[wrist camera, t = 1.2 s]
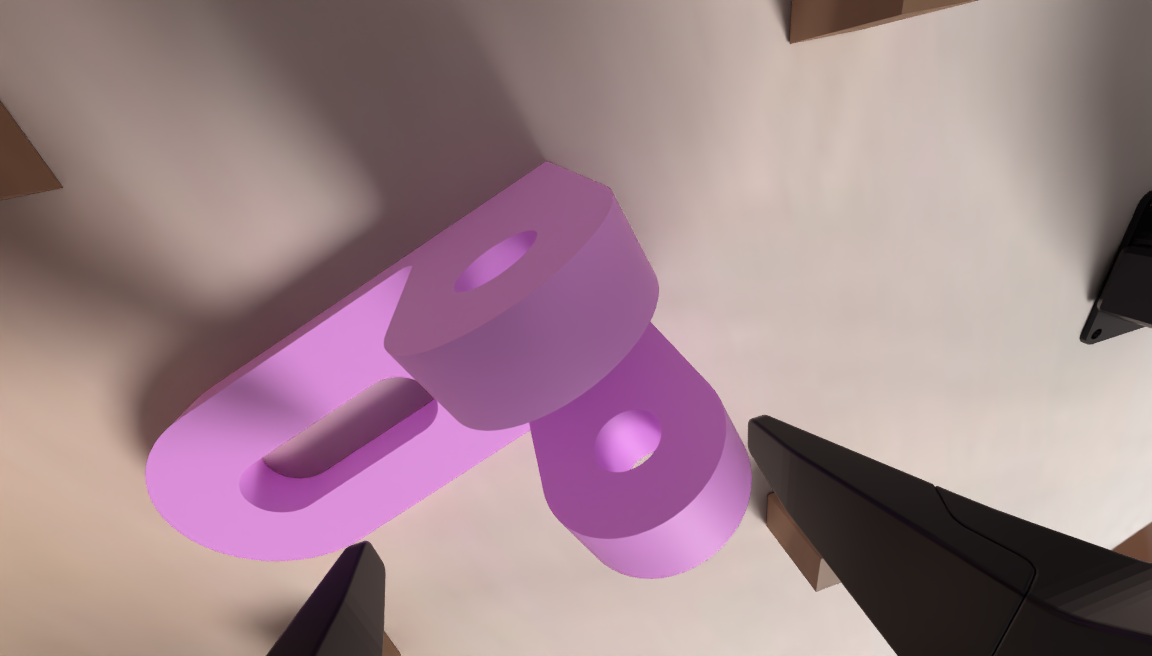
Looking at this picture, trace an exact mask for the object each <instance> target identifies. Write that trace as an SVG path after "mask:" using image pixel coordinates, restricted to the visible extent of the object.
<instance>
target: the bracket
mask: <svg viewBox="0 0 1152 656" xmlns="http://www.w3.org/2000/svg"><path fill="white" fill-rule="evenodd" d="M658 295H659V286H658V280H657V277H656V275H655V273H654V271H653V269H652V267H651V265H650V263H649V261H648V260H647V258H646V256H645V254H644V252H643V250H642V248H641V246H640V244H639V242H638V240H637V238H636V236H635V235H634V233H633V231H632V229H631V227H630V225H629V223H628V221H627V219H626V217H625V215H624V213H623V211H622V209H621V208H620V206H619V204H618V202H617V200H616V198H615V196H614V194H613V192H612V191H611V189H610V188H609V187H607V186H605V185H603V184H601V183H598V182H596V181H593V180H591V179H589V178H586V177H584V176H581V175H579V174H577V173H574V172H572V171H569V170H567V169H565V168H562V167H560V166H557V165H555V164H553V163H550V162H548V161H546V162H544V163H543V164H541V165H540V166H538V167H537V168H535V169H534V170H532V171H531V172H529V173H528V174H526V175H525V176H523V177H522V178H520V179H519V180H517V181H516V182H515V183H513V184H512V185H510V186H509V187H507V188H506V189H504V190H503V191H501V192H500V193H498V194H497V195H495V196H494V197H492V198H491V199H489V200H488V201H486V202H485V203H483V204H482V205H480V206H479V207H478V208H476V209H475V210H473V211H472V212H470V213H469V214H467V215H466V216H464V217H463V218H461V219H460V220H458V221H457V222H455V223H454V224H452V225H451V226H449V227H448V228H446V229H445V230H443V231H442V232H441V233H439V234H438V235H436V236H435V237H433V238H432V239H430V240H429V241H427V242H426V243H424V244H423V245H421V246H420V247H418V248H417V249H415V250H414V251H412V252H411V253H409V254H408V255H406V256H405V257H403V258H402V259H401V260H399V261H398V262H396V263H395V264H393V265H392V266H390V267H389V268H387V269H386V270H384V271H383V272H381V273H380V274H378V275H377V276H375V277H374V278H372V279H371V280H369V281H368V282H366V283H365V284H364V285H362V286H361V287H359V288H358V289H356V290H355V291H353V292H352V293H350V294H349V295H347V296H346V297H344V298H343V299H341V300H340V301H338V302H337V303H335V304H334V305H332V306H331V307H329V308H328V309H327V310H325V311H324V312H322V313H321V314H319V315H318V316H316V317H315V318H313V319H312V320H310V321H309V322H307V323H306V324H304V325H303V326H301V327H300V328H298V329H297V330H295V331H294V332H292V333H291V334H290V335H288V336H287V337H285V338H284V339H282V340H281V341H279V342H278V343H276V344H275V345H273V346H272V347H270V348H269V349H267V350H266V351H264V352H263V353H261V354H260V355H258V356H257V357H255V358H254V359H253V360H251V361H250V362H248V363H247V364H245V365H244V366H242V367H241V368H239V369H238V370H236V371H235V372H233V373H232V374H230V375H229V376H227V377H226V378H224V379H223V380H221V381H220V382H218V383H217V384H216V385H214V386H213V387H211V388H210V389H208V390H207V391H206V392H204V393H203V394H202V395H200V396H199V397H198V398H197V399H196V400H195V401H194V402H193V403H192V404H191V405H190V406H189V407H188V408H187V409H186V410H185V411H184V412H183V413H182V414H181V415H180V416H179V417H178V418H177V419H176V420H175V421H174V422H173V423H172V424H171V425H170V426H169V427H168V428H167V429H166V430H165V431H164V432H163V433H162V434H161V436H160V437H159V438H158V440H157V441H156V442H155V444H154V446H153V448H152V450H151V452H150V454H149V457H148V460H147V464H146V471H145V477H146V485H147V490H148V493H149V496H150V498H151V501H152V502H153V504H154V506H155V508H156V509H157V511H158V512H159V513H160V514H161V516H162V517H163V518H164V519H165V520H166V521H167V522H168V523H169V524H170V525H171V526H172V527H173V528H175V529H176V530H177V531H178V532H180V533H181V534H183V535H184V536H186V537H187V538H189V539H190V540H192V541H194V542H196V543H198V544H200V545H202V546H204V547H207V548H209V549H212V550H214V551H217V552H220V553H223V554H227V555H231V556H235V557H240V558H246V559H252V560H261V561H290V560H301V559H307V558H313V557H317V556H322V555H325V554H328V553H332V552H335V551H337V550H340V549H343V548H345V547H347V546H349V545H351V544H353V543H355V542H357V541H358V540H360V539H362V538H363V537H365V536H366V535H368V534H370V533H371V532H373V531H374V530H376V529H377V528H379V527H380V526H382V525H383V524H385V523H387V522H388V521H390V520H391V519H393V518H394V517H396V516H397V515H399V514H401V513H402V512H404V511H405V510H407V509H408V508H410V507H411V506H413V505H415V504H416V503H418V502H419V501H421V500H422V499H424V498H425V497H427V496H429V495H430V494H432V493H433V492H435V491H436V490H438V489H439V488H441V487H443V486H444V485H446V484H447V483H449V482H450V481H452V480H453V479H455V478H457V477H458V476H460V475H461V474H463V473H464V472H466V471H467V470H469V469H470V468H472V467H474V466H475V465H477V464H478V463H480V462H481V461H483V460H484V459H486V458H488V457H489V456H491V455H492V454H494V453H495V452H497V451H498V450H500V449H502V448H503V447H505V446H506V445H508V444H509V443H511V442H512V441H514V440H516V439H517V438H519V437H520V436H522V435H523V434H525V433H526V432H528V431H530V430H531V434H532V439H533V443H534V448H535V453H536V458H537V462H538V467H539V472H540V477H541V481H542V486H543V491H544V495H545V498H546V501H547V503H548V506H549V508H550V509H551V511H552V512H553V514H554V515H555V516H556V518H557V519H558V520H559V521H560V522H561V523H562V524H563V525H564V526H565V527H566V528H567V529H568V530H569V531H570V532H571V533H572V534H573V535H574V536H575V537H576V538H577V539H578V540H579V541H580V542H581V543H582V544H583V545H585V546H586V547H587V548H588V549H589V550H590V551H591V552H592V553H593V554H594V555H595V556H596V557H597V558H598V559H599V560H600V561H601V562H602V563H604V564H605V565H606V566H608V567H609V568H611V569H613V570H615V571H617V572H619V573H621V574H624V575H628V576H631V577H637V578H647V579H654V578H664V577H669V576H674V575H677V574H680V573H683V572H686V571H688V570H690V569H692V568H694V567H696V566H698V565H700V564H701V563H703V562H704V561H706V560H707V559H709V558H710V557H711V556H713V555H714V554H715V553H716V552H717V551H718V550H719V549H720V548H721V547H722V546H724V545H725V543H726V542H727V541H728V540H729V539H730V537H731V536H732V535H733V533H734V532H735V530H736V529H737V527H738V526H739V524H740V522H741V520H742V518H743V516H744V514H745V511H746V508H747V505H748V502H749V498H750V493H751V484H752V473H751V466H750V461H749V457H748V454H747V451H746V449H745V446H744V444H743V442H742V441H741V439H740V437H739V435H738V433H737V431H736V429H735V427H734V425H733V423H732V421H731V419H730V417H729V415H728V414H727V412H726V410H725V408H724V406H723V404H722V402H721V400H720V398H719V397H718V395H717V393H716V392H715V390H714V389H713V388H712V387H711V385H710V384H709V383H708V382H707V381H706V380H705V379H704V378H703V377H702V376H701V375H700V374H699V373H698V372H697V371H696V370H695V369H694V367H693V366H692V365H691V364H690V363H689V362H688V361H687V360H686V359H685V358H684V357H683V356H682V355H681V354H680V353H679V352H678V351H677V349H676V348H675V347H674V346H673V345H672V344H671V343H670V342H669V341H668V340H667V339H666V338H665V337H664V336H663V335H662V334H661V333H660V331H659V330H658V329H657V328H656V327H655V326H654V325H653V324H652V323H651V322H650V320H651V318H652V316H653V314H654V311H655V309H656V305H657V301H658ZM392 377H404V378H410V379H414V380H416V381H417V382H418V383H419V384H420V385H421V386H422V387H423V388H424V389H425V390H426V391H427V392H428V393H429V394H430V395H431V396H432V397H433V398H434V399H433V400H432V401H431V402H430V403H428V404H427V405H425V406H424V407H422V408H421V409H419V410H418V411H416V412H415V413H413V414H412V415H410V416H409V417H407V418H406V419H404V420H403V421H401V422H399V423H398V424H396V425H395V426H393V427H392V428H390V429H389V430H387V431H386V432H384V433H383V434H381V435H380V436H378V437H377V438H375V439H373V440H372V441H370V442H369V443H367V444H366V445H364V446H363V447H361V448H360V449H358V450H357V451H355V452H354V453H352V454H351V455H349V456H347V457H346V458H344V459H343V460H341V461H340V462H338V463H337V464H335V465H334V466H332V467H331V468H329V469H328V470H326V471H325V472H323V473H321V474H319V475H316V476H313V477H309V478H291V477H286V476H283V475H280V474H278V473H276V472H274V471H272V470H271V469H270V468H269V467H268V466H267V465H266V464H265V463H264V461H263V460H262V458H263V457H264V456H266V455H267V454H269V453H270V452H272V451H273V450H275V449H276V448H278V447H279V446H281V445H282V444H284V443H285V442H287V441H288V440H290V439H291V438H293V437H294V436H296V435H297V434H299V433H300V432H302V431H303V430H305V429H306V428H308V427H309V426H311V425H312V424H314V423H315V422H317V421H318V420H320V419H322V418H323V417H325V416H326V415H328V414H329V413H331V412H332V411H334V410H335V409H337V408H338V407H340V406H341V405H343V404H344V403H346V402H347V401H349V400H350V399H352V398H353V397H355V396H356V395H358V394H359V393H361V392H362V391H364V390H365V389H367V388H368V387H370V386H371V385H373V384H375V383H376V382H378V381H381V380H383V379H387V378H392ZM652 452H654V453H653V454H652V455H651V457H650V458H649V459H648V460H646V461H645V462H644V463H643V464H641V465H640V466H638V467H636V468H634V469H632V467H633V466H634V465H635V463H636V462H637V461H638V460H640V459H641V458H642V457H644V456H646V455H647V454H650V453H652ZM631 469H632V470H631Z"/></svg>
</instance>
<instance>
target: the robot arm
mask: <svg viewBox="0 0 1152 656" xmlns="http://www.w3.org/2000/svg"><path fill="white" fill-rule="evenodd" d="M1151 204H1152V190H1151V191H1149V192H1148V193H1147V194H1146V195H1144V197H1143V198H1142V199H1141V200H1140V202H1139V204H1138V205H1137V207H1136V210H1135V212H1134V214H1133V217H1132V219H1131V221H1130V223H1129V226H1128V228H1127V230H1126V233H1125V235H1124V237H1123V239H1122V242H1121V244H1120V246H1119V249H1118V251H1117V253H1116V255H1115V258H1114V260H1113V262H1112V265H1111V267H1110V269H1109V272H1108V274H1107V276H1106V278H1105V281H1104V283H1103V285H1102V288H1101V290H1100V292H1099V294H1098V297H1097V299H1096V301H1095V304H1094V306H1093V308H1092V310H1091V313H1090V315H1089V317H1088V320H1087V322H1086V324H1085V326H1084V329H1083V331H1082V333H1081V336H1080V341H1081V342H1083V343H1086V344H1094V343H1097V342H1100V341H1103V340H1106V339H1109V338H1112V337H1115V336H1118V335H1121V334H1124V333H1127V332H1130V331H1134V330H1137V329H1140V328H1143V327H1149V328H1152V205H1151ZM1150 205H1151V206H1150ZM748 448H749V451H750V453H751V455H752V457H753V458H754V460H755V461H756V463H757V465H758V466H759V468H760V469H761V471H762V473H763V474H764V476H765V477H766V479H767V481H768V482H769V484H770V486H771V487H772V489H773V490H774V492H775V494H776V495H777V497H778V498H779V500H780V502H781V503H782V505H783V506H784V508H785V509H786V511H787V512H788V513H789V515H790V516H791V518H792V519H793V520H794V522H795V523H796V524H797V525H798V527H799V528H800V529H801V531H802V532H803V533H804V535H805V536H806V537H807V538H808V540H809V541H810V542H811V544H812V545H813V546H814V548H815V549H816V550H817V551H818V553H819V554H820V555H821V557H822V558H823V559H824V561H825V562H826V563H827V564H828V566H829V567H830V568H831V570H832V571H833V572H834V574H835V575H836V576H837V578H838V579H839V580H840V581H841V583H842V584H843V585H844V587H845V588H846V589H847V591H848V592H849V593H850V594H851V596H852V597H853V598H854V600H855V601H856V602H857V604H858V605H859V606H860V607H861V609H862V610H863V611H864V613H865V614H866V615H867V617H868V618H869V619H870V620H871V622H872V623H873V624H874V626H875V627H876V628H877V630H878V631H879V632H880V633H881V635H882V636H883V637H884V639H885V640H886V641H887V643H888V644H889V645H890V647H891V648H892V649H893V650H894V652H895V653H896V654H897V656H1152V563H1149V562H1145V561H1141V560H1138V559H1135V558H1132V557H1128V556H1126V555H1123V554H1120V553H1117V552H1114V551H1111V550H1108V549H1106V548H1103V547H1100V546H1097V545H1094V544H1091V543H1089V542H1086V541H1083V540H1080V539H1077V538H1074V537H1071V536H1069V535H1066V534H1063V533H1060V532H1057V531H1054V530H1052V529H1049V528H1046V527H1043V526H1040V525H1037V524H1034V523H1032V522H1029V521H1026V520H1023V519H1021V518H1018V517H1015V516H1012V515H1010V514H1007V513H1004V512H1002V511H999V510H996V509H993V508H991V507H988V506H986V505H983V504H981V503H978V502H976V501H973V500H971V499H968V498H966V497H963V496H961V495H958V494H956V493H953V492H951V491H949V490H946V489H944V488H941V487H939V486H936V487H935V486H934V485H933V484H931V483H929V482H927V481H924V480H922V479H919V478H917V477H915V476H912V475H910V474H907V473H905V472H903V471H900V470H898V469H895V468H893V467H891V466H888V465H886V464H883V463H881V462H878V461H876V460H874V459H871V458H869V457H866V456H864V455H862V454H859V453H857V452H854V451H852V450H850V449H847V448H845V447H842V446H840V445H838V444H835V443H833V442H830V441H828V440H826V439H823V438H821V437H818V436H816V435H814V434H811V433H809V432H806V431H804V430H802V429H799V428H797V427H794V426H792V425H790V424H787V423H785V422H782V421H780V420H778V419H775V418H773V417H770V416H768V415H762V416H758V417H755V418H752V419H750V420H749V422H748ZM384 608H385V567H384V564H383V562H382V560H381V559H380V557H379V555H378V554H377V552H376V551H375V549H374V548H373V546H372V544H371V543H370V542H368V541H363V542H360V543H357V544H354V545H351V546H349V547H347V548H346V549H345V550H344V551H343V553H342V554H341V555H340V557H339V558H338V560H337V561H336V562H335V564H334V565H333V566H332V568H331V569H330V570H329V572H328V573H327V574H326V576H325V577H324V578H323V580H322V581H321V582H320V584H319V585H318V586H317V588H316V589H315V590H314V592H313V593H312V594H311V596H310V597H309V598H308V600H307V601H306V603H305V604H304V605H303V607H302V608H301V609H300V611H299V612H298V613H297V615H296V616H295V617H294V619H293V620H292V621H291V623H290V624H289V625H288V627H287V628H286V629H285V631H284V632H283V633H282V635H281V636H280V637H279V639H278V640H277V641H276V643H275V644H274V646H273V647H272V648H271V650H270V651H269V652H268V654H267V655H266V656H382V654H383V640H384Z"/></svg>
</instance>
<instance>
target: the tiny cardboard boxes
mask: <svg viewBox="0 0 1152 656" xmlns="http://www.w3.org/2000/svg"><path fill="white" fill-rule="evenodd" d="M974 1H978V0H792V7H791V28H790V44H791V43H796V42H801V41H806V40H812V39H817V38H822V37H827V36H832V35H837V34H842V33H847V32H852V31H857V30H862V29H866V28H870V27H874V26H878V25H882V24H886V23H890V22H894V21H898V20H902V19H906V18H910V17H914V16H918V15H922V14H926V13H930V12H934V11H938V10H942V9H946V8H950V7H954V6H958V5H962V4H966V3H970V2H974ZM59 188H63V187H62V186H61V184H60V183H59V182H58V180H57V179H56V177H55V176H54V175H53V173H52V172H51V171H50V169H49V168H48V166H47V165H46V164H45V162H44V161H43V159H42V158H41V157H40V155H39V154H38V153H37V151H36V150H35V148H34V147H33V146H32V144H31V143H30V141H29V140H28V139H27V137H26V136H25V135H24V133H23V132H22V130H21V129H20V128H19V126H18V125H17V124H16V122H15V121H14V119H13V118H12V117H11V115H10V114H9V112H8V111H7V110H6V108H5V107H4V106H3V104H2V103H1V101H0V200H4V199H9V198H14V197H19V196H24V195H29V194H34V193H39V192H44V191H49V190H54V189H59ZM766 526H767V527H768V528H769V530H770V531H771V532H772V534H773V535H774V536H775V538H776V539H777V540H778V542H779V543H780V544H781V546H782V547H783V548H784V550H785V551H786V552H787V554H788V555H789V556H790V558H791V559H792V560H793V562H794V563H795V564H796V566H797V567H798V568H799V570H800V571H801V572H802V574H803V575H804V576H805V578H806V579H807V580H808V582H809V583H810V584H811V586H812V587H813V588H814V590H815V591H816V592H817V591H820V590H822V589H825V588H828V587H830V586H833V585H835V584H838V583H841V581H840V580H839V579H838V578H837V576H836V575H835V574H834V572H833V571H832V570H831V568H830V567H829V566H828V564H827V563H826V562H825V561H824V559H823V558H822V557H821V555H820V554H819V553H818V551H817V550H816V549H815V548H814V546H813V545H812V544H811V542H810V541H809V540H808V538H807V537H806V536H805V535H804V533H803V532H802V531H801V529H800V528H799V527H798V525H797V524H796V523H795V522H794V520H793V519H792V518H791V516H790V515H789V513H788V512H787V511H786V509H785V508H784V506H783V505H782V503H781V502H780V500H779V498H778V497H777V495H776V494H775V492H774V493H771V494H768V505H767V525H766ZM382 656H401V654H400V653H399V651H398V650H397V649H396V647H395V646H394V645H393V643H392V642H391V640H390V639H389V638H388V636H387V635H386V633H385V632H384V640H383V654H382Z"/></svg>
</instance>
